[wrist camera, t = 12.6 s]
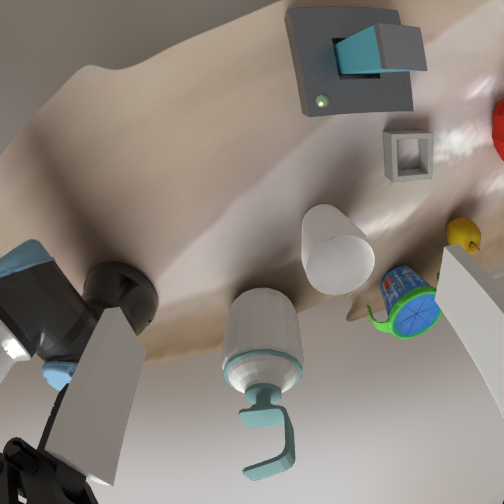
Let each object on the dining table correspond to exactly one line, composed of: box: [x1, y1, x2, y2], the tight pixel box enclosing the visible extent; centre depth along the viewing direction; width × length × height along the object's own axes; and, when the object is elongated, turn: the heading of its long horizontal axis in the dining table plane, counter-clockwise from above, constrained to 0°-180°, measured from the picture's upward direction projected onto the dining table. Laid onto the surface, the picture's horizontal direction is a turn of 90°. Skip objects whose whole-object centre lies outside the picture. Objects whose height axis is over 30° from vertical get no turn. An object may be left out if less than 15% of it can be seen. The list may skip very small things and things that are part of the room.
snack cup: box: [367, 265, 443, 339], centre depth 46 cm, size 16×10×10 cm
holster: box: [383, 130, 433, 182], centre depth 37 cm, size 7×7×3 cm
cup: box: [301, 204, 375, 295], centre depth 40 cm, size 9×9×12 cm
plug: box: [333, 23, 427, 75], centre depth 24 cm, size 4×4×17 cm
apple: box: [446, 218, 481, 255], centre depth 41 cm, size 6×6×8 cm
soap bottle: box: [222, 288, 304, 481], centre depth 40 cm, size 12×12×31 cm
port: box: [284, 7, 413, 117], centre depth 30 cm, size 14×14×6 cm
